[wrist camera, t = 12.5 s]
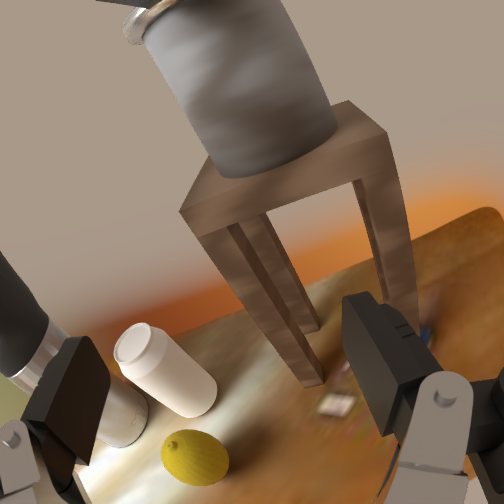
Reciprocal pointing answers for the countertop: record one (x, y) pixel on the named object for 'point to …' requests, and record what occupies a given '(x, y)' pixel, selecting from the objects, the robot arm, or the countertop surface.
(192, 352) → the countertop surface
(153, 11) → the cooker lid
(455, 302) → the countertop surface
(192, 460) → the lemon
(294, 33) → the stand
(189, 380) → the beverage can
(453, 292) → the countertop surface
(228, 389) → the countertop surface
